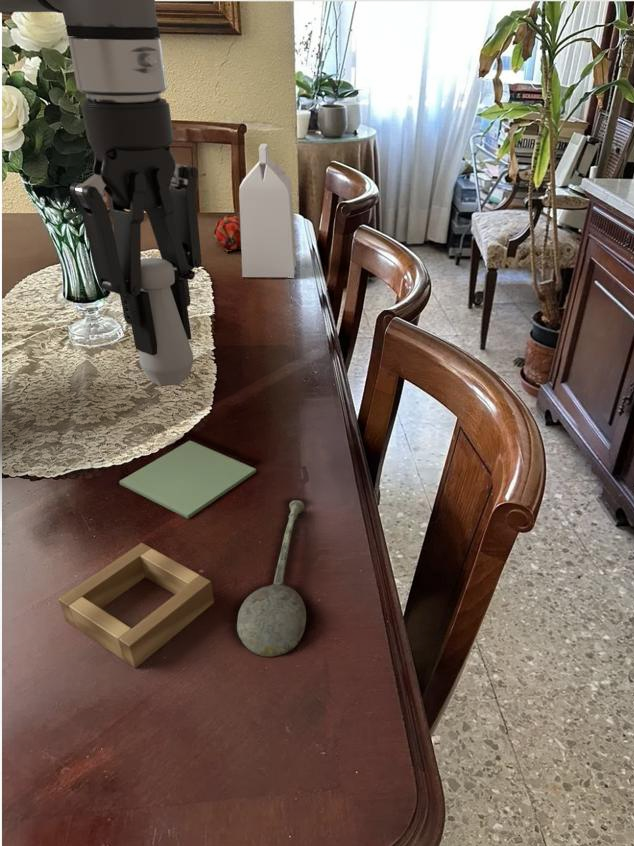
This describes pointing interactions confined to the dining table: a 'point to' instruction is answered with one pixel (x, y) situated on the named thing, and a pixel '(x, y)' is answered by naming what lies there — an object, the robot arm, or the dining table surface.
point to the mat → (188, 478)
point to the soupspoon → (274, 608)
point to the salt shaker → (164, 327)
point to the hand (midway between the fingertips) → (164, 343)
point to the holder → (156, 628)
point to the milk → (267, 220)
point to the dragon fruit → (228, 233)
